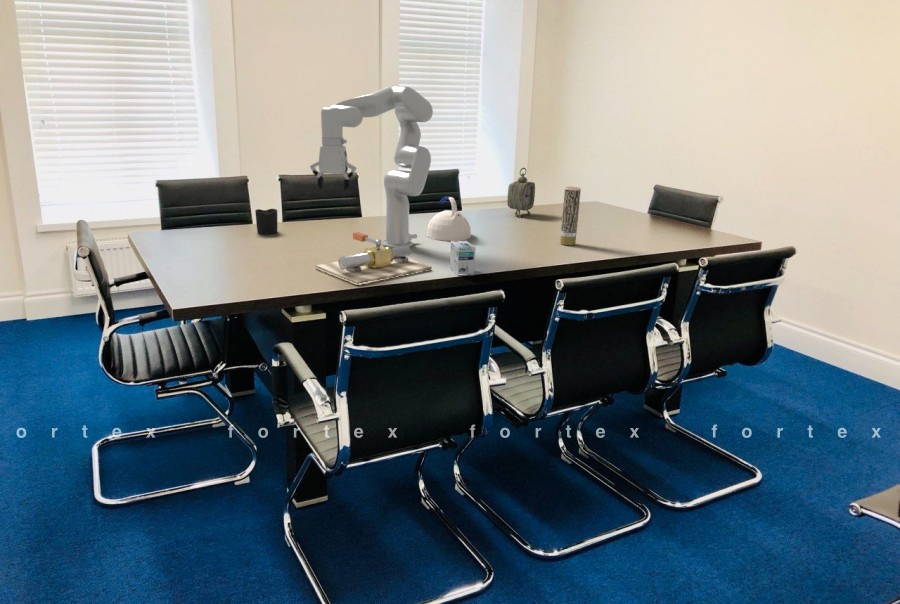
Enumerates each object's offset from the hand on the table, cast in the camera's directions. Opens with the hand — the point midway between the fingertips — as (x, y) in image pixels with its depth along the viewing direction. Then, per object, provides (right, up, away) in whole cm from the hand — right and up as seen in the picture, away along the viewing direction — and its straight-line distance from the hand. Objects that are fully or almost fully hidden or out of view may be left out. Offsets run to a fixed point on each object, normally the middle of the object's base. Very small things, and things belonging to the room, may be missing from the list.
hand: (333, 189), depth 256 cm
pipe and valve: (+16, -29, -2) cm, 33 cm away
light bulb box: (+48, -31, +1) cm, 57 cm away
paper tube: (+96, -17, +49) cm, 109 cm away
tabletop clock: (+80, +4, +108) cm, 134 cm away
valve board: (+15, -30, -1) cm, 34 cm away
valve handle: (+13, -20, 0) cm, 23 cm away
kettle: (+43, -12, +56) cm, 72 cm away
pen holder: (-38, -11, +50) cm, 64 cm away
